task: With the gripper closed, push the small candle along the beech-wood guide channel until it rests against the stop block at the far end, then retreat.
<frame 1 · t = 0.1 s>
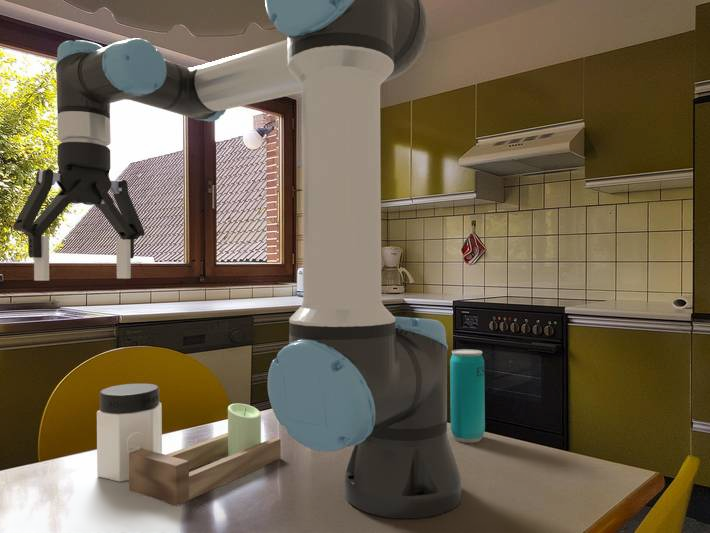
hand: (85, 279, 87), 28 cm above the table, fingers open, 13 cm apart
candle: (244, 459, 86), on the table
channel: (215, 470, 81), on the table
beverage can: (467, 440, 95), on the table
jar: (130, 472, 81), on the table
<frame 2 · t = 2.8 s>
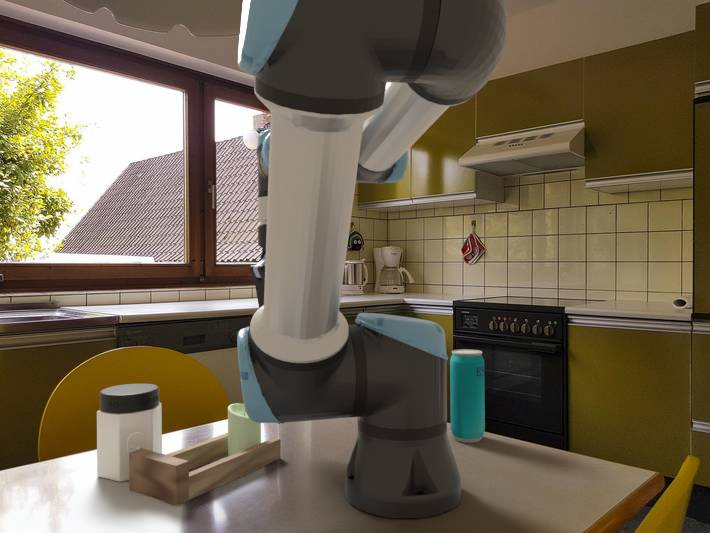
hand: (281, 363, 94), 13 cm above the table, fingers closed
nothing on the table moved.
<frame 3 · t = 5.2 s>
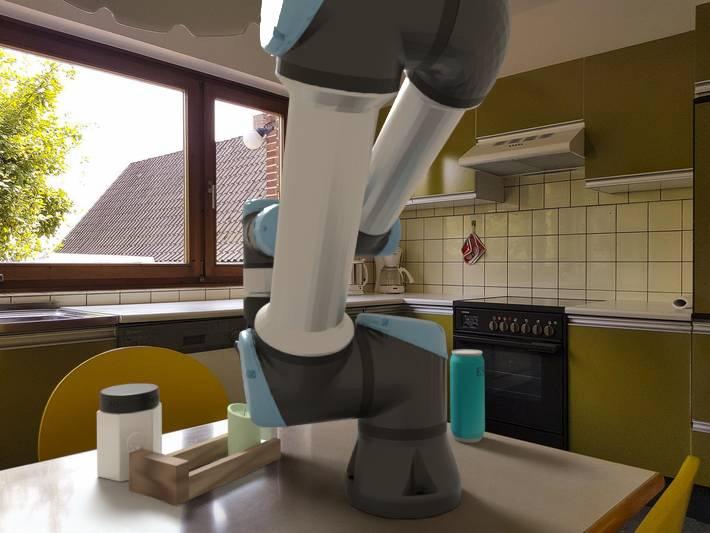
hand: (268, 438, 90), 2 cm above the table, fingers closed
candle: (244, 459, 86), on the table, touching gripper
everything else where it was.
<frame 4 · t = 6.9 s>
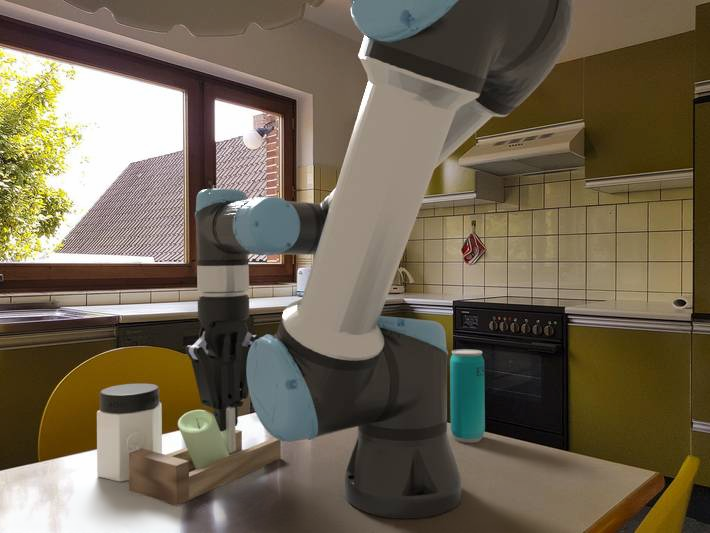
hand: (226, 449, 83), 2 cm above the table, fingers closed
candle: (213, 465, 81), point 1 cm above the table, touching gripper
everything else where it was.
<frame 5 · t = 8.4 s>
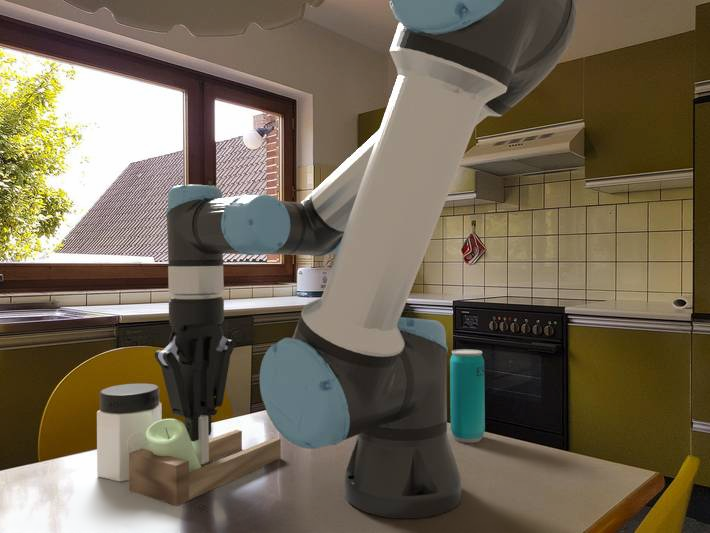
hand: (198, 460, 79), 2 cm above the table, fingers closed
candle: (184, 477, 76), point 1 cm above the table, touching gripper
everything else where it was.
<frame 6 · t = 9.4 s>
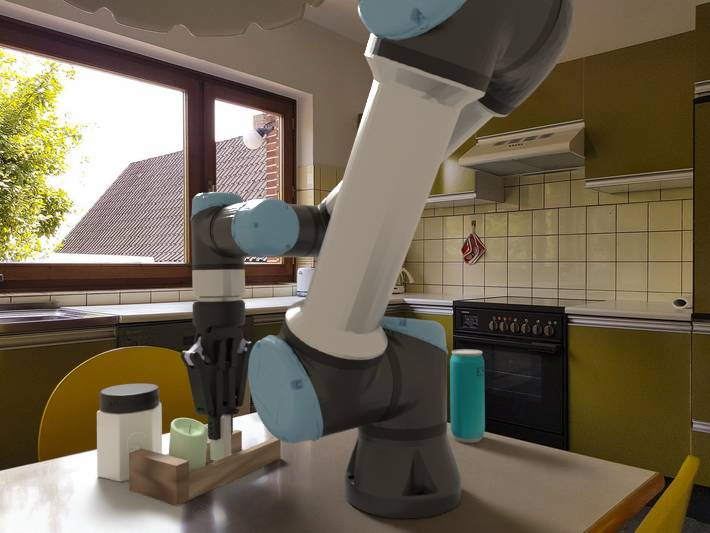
hand: (220, 459, 81), 1 cm above the table, fingers closed
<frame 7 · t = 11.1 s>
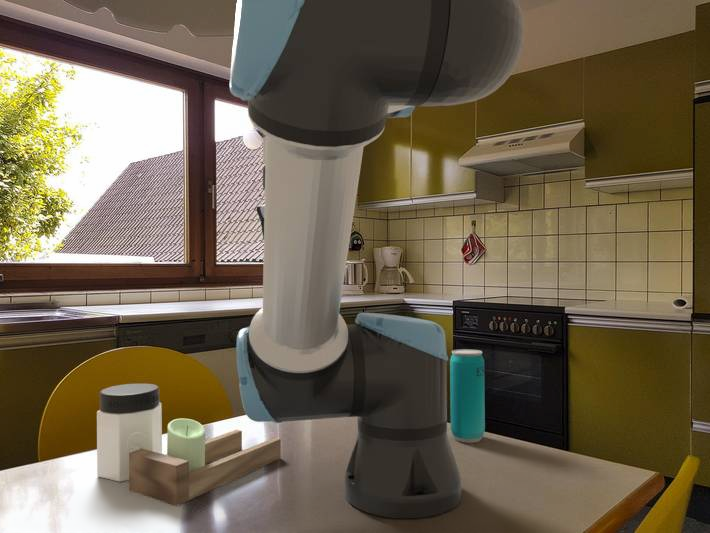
hand: (287, 311, 89), 22 cm above the table, fingers closed
candle: (185, 482, 76), on the table
everything else where it was.
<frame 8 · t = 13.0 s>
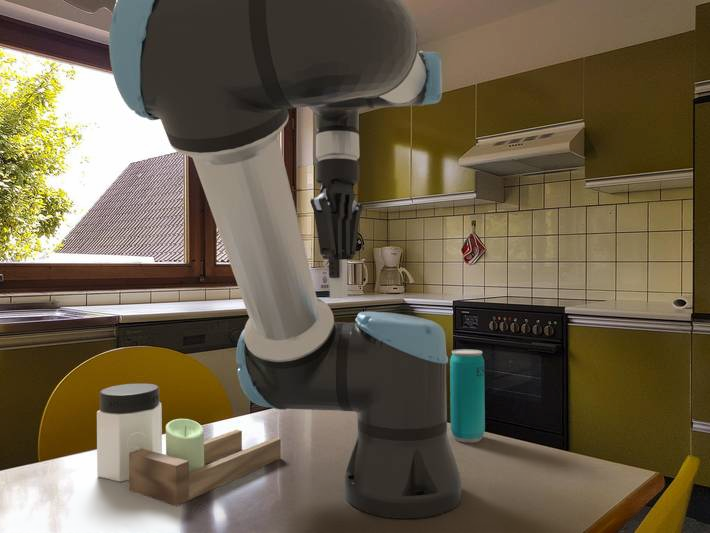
hand: (338, 297, 95), 24 cm above the table, fingers closed
nothing on the table moved.
at the end: candle inside the target area (1.4 cm from its centre), on the table; candle tilted 2° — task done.
